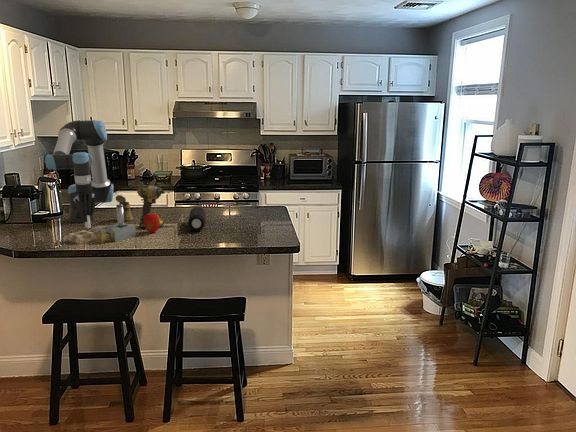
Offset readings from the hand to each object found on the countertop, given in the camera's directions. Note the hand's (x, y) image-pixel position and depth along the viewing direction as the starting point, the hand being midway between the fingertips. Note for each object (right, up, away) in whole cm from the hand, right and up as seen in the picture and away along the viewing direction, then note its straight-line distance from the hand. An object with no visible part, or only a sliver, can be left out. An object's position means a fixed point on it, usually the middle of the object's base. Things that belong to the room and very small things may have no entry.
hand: (88, 227), depth 250 cm
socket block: (+10, -6, +17) cm, 21 cm away
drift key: (+6, -7, +11) cm, 14 cm away
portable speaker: (+50, -1, +40) cm, 64 cm away
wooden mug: (+1, +3, +53) cm, 53 cm away
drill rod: (+11, -6, +19) cm, 23 cm away
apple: (+26, -4, +28) cm, 38 cm away
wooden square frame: (-8, -7, +11) cm, 16 cm away
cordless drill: (+25, -1, +39) cm, 46 cm away
